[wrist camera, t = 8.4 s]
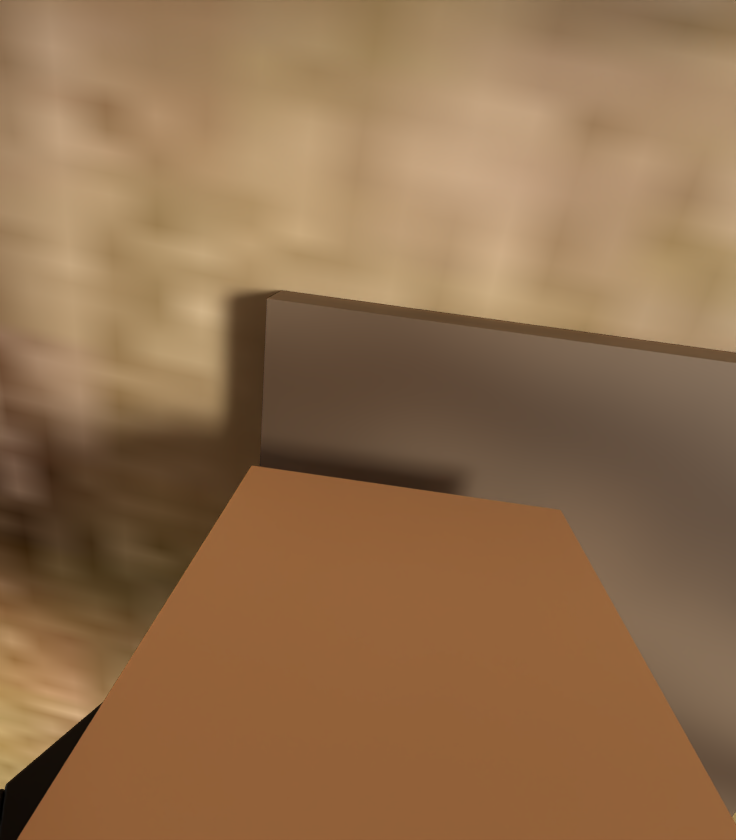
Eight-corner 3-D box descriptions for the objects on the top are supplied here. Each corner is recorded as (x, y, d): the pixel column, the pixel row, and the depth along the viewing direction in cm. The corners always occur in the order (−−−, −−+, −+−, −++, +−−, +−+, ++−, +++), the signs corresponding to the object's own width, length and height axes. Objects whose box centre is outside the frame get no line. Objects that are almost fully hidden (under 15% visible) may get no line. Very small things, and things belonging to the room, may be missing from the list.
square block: (490, 721, 11) (608, 1381, 5) (243, 684, 11) (35, 1287, 5) (560, 510, 9) (958, 1222, 2) (251, 465, 9) (-117, 1051, 2)
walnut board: (628, 897, 18) (644, 942, 16) (252, 839, 18) (242, 880, 17) (951, 382, 10) (1020, 402, 9) (281, 290, 10) (267, 298, 9)
